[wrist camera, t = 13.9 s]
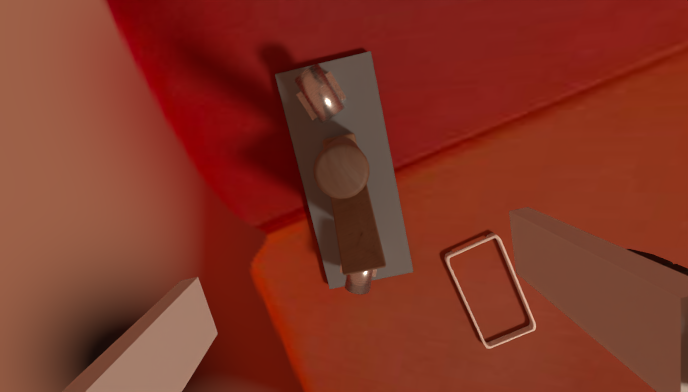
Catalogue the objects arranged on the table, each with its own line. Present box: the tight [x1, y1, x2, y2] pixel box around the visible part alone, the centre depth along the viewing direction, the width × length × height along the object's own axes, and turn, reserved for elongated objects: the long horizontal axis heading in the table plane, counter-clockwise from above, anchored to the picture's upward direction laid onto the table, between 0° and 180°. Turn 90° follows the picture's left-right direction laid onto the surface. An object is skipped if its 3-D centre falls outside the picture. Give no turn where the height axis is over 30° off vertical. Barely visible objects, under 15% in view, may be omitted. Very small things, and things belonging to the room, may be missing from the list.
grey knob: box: [340, 262, 377, 294], centre depth 38 cm, size 5×4×5 cm
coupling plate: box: [275, 51, 413, 289], centre depth 38 cm, size 27×11×1 cm, turn 13°
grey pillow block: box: [294, 64, 346, 124], centre depth 34 cm, size 5×4×5 cm
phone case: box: [445, 233, 536, 349], centre depth 42 cm, size 7×1×15 cm
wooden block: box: [313, 132, 386, 275], centre depth 29 cm, size 4×11×18 cm, turn 13°
